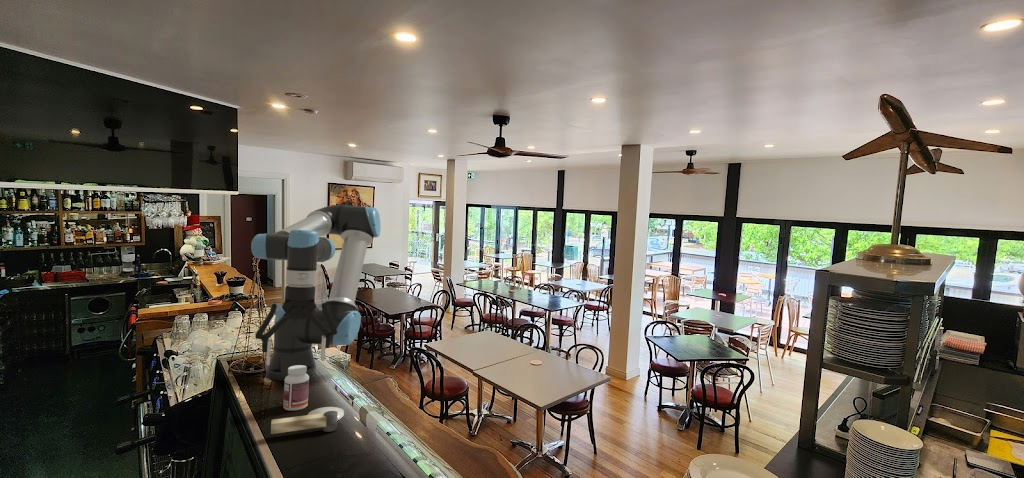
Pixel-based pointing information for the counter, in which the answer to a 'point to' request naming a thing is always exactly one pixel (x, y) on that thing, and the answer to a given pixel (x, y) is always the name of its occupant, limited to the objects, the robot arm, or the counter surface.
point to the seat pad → (326, 409)
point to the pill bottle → (296, 388)
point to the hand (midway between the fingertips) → (295, 361)
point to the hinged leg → (306, 422)
